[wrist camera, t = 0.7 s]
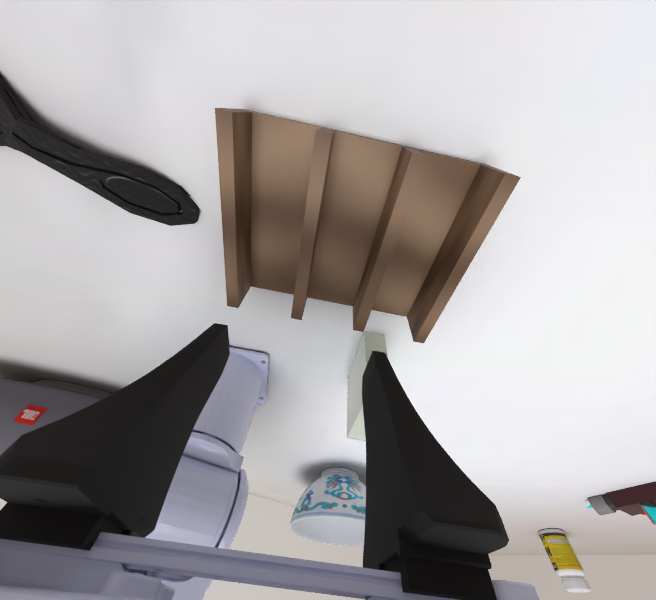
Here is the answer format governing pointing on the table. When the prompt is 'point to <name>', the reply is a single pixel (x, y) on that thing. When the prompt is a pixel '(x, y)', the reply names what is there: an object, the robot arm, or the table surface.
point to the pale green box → (360, 383)
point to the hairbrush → (95, 168)
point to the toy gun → (628, 501)
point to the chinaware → (332, 509)
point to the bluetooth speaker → (39, 405)
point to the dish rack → (349, 217)
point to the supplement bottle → (564, 560)
